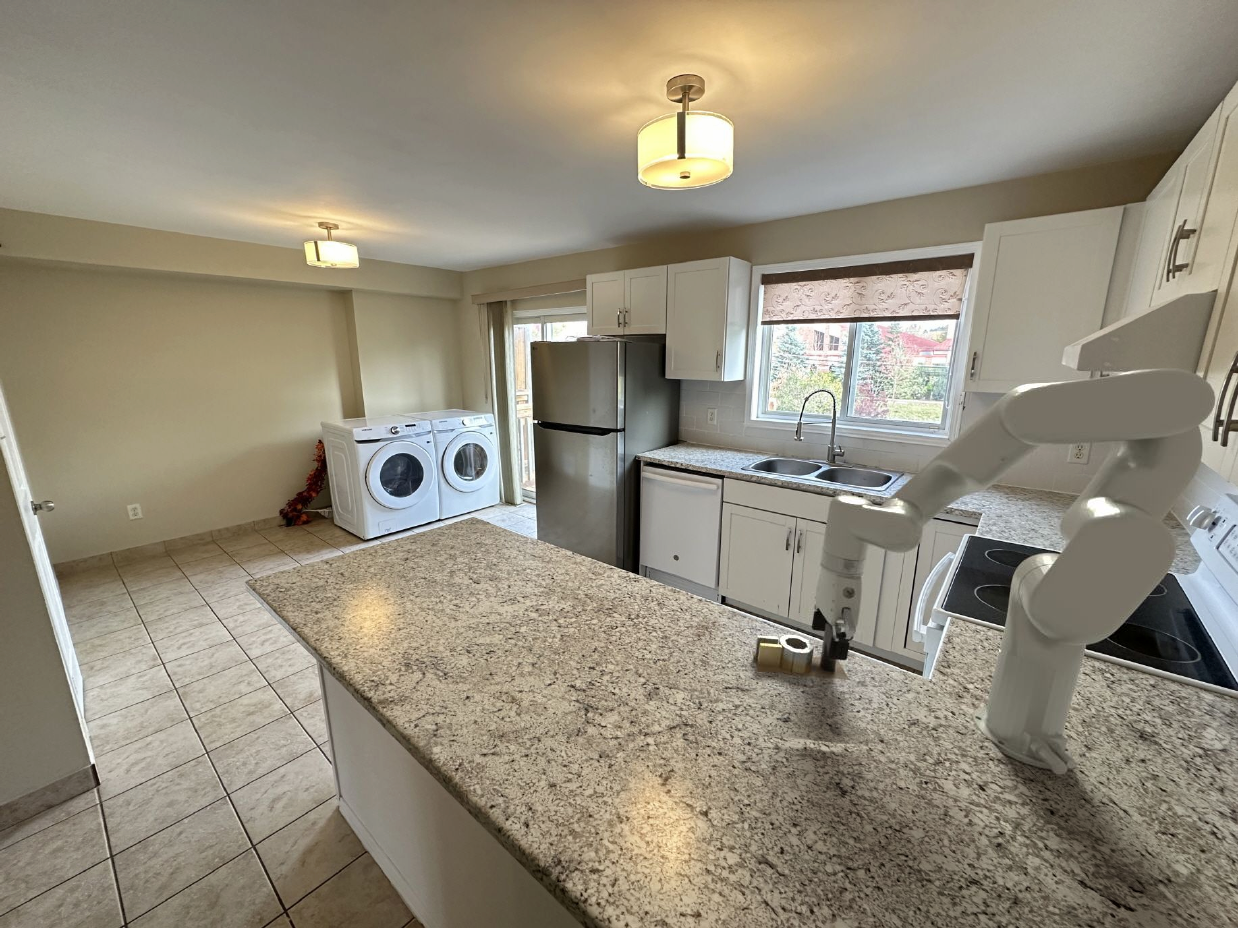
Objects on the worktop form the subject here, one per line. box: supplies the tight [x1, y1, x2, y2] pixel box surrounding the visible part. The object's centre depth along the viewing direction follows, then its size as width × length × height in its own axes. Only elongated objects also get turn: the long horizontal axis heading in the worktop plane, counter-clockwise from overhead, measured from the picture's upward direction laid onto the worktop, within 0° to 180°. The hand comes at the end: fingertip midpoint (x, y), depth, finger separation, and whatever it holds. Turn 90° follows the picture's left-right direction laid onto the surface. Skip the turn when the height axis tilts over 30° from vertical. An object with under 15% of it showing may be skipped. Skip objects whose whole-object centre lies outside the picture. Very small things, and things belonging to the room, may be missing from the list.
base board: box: [751, 650, 850, 680], centre depth 94 cm, size 7×17×1 cm, turn 85°
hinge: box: [754, 634, 815, 674], centre depth 94 cm, size 6×10×4 cm, turn 85°
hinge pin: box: [820, 622, 842, 672], centre depth 93 cm, size 3×3×9 cm
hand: (827, 643), depth 93 cm, fingers open, 9 cm apart
